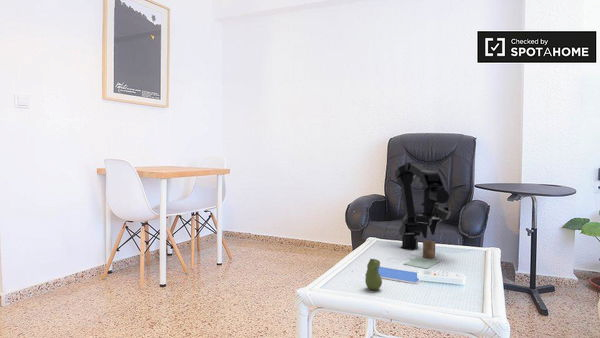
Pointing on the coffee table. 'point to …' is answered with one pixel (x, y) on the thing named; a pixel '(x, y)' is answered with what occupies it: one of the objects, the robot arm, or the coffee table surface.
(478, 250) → the coffee table surface
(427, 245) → the walnut block
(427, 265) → the pale green flat panel
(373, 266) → the pear
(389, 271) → the tablet computer
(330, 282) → the coffee table surface
